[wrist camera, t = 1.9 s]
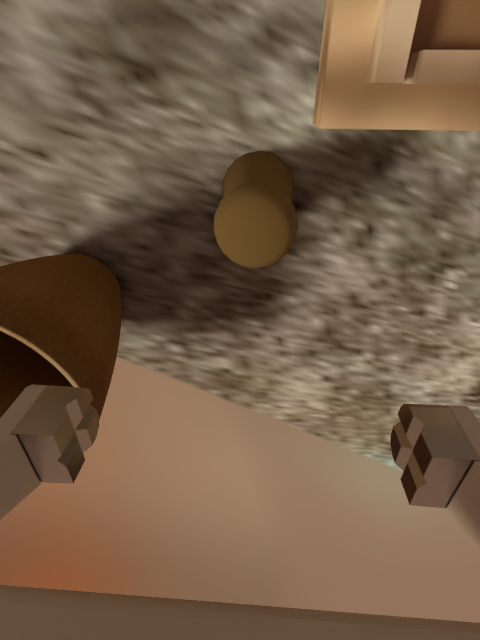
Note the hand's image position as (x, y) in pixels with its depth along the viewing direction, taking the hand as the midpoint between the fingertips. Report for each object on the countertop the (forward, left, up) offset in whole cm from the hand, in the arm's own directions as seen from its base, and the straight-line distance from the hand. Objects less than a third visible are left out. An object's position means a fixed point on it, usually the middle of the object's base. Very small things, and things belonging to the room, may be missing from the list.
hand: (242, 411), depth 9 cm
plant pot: (+10, -17, -25) cm, 32 cm away
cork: (0, 0, -25) cm, 25 cm away
